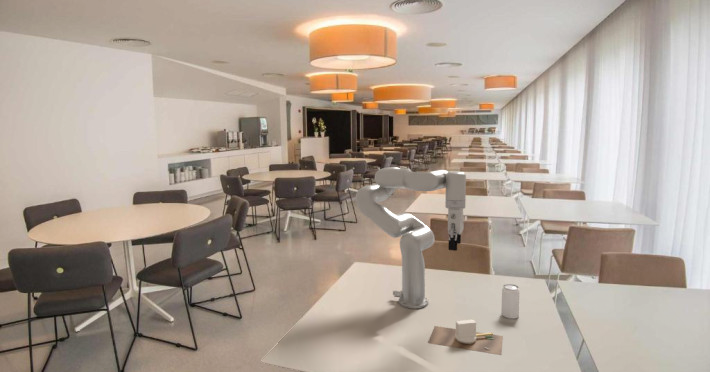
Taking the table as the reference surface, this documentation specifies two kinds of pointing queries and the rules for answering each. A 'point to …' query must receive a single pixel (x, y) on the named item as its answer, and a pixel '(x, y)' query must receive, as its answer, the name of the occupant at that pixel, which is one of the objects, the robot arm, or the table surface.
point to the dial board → (448, 339)
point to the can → (510, 301)
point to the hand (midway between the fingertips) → (454, 246)
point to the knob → (467, 331)
